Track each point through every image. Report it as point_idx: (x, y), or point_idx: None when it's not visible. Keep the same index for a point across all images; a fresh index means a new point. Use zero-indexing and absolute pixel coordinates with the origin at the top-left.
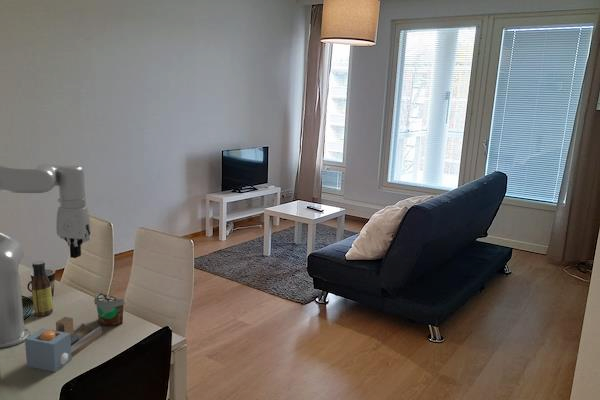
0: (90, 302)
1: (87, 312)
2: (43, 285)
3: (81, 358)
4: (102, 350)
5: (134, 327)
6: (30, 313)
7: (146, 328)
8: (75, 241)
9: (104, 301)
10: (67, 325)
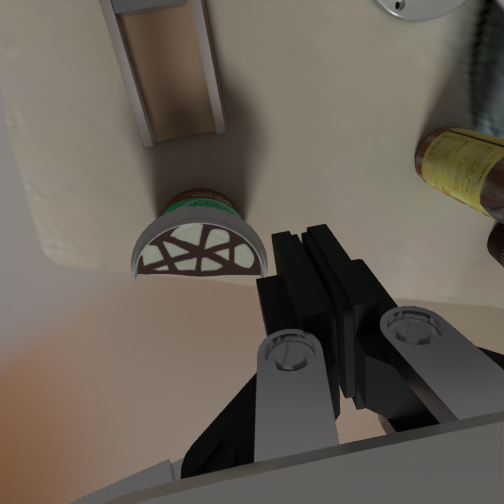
0: None
1: None
2: (502, 177)
3: None
4: (41, 51)
5: (104, 230)
6: (481, 131)
7: (67, 244)
8: (296, 413)
9: (176, 225)
10: None
